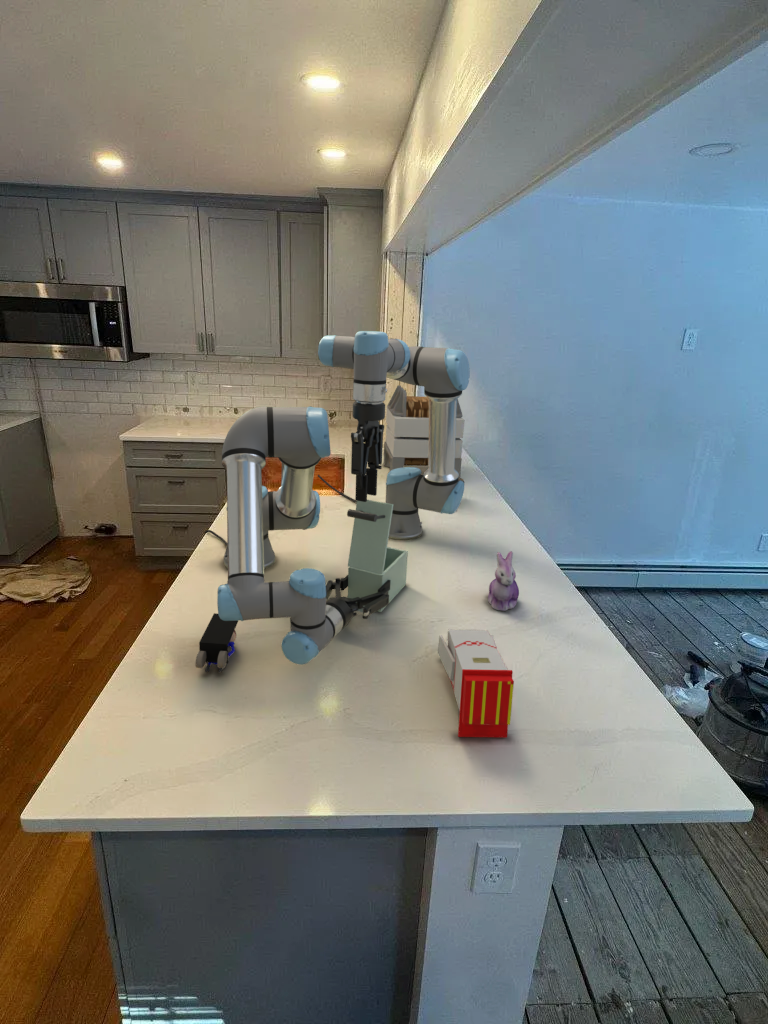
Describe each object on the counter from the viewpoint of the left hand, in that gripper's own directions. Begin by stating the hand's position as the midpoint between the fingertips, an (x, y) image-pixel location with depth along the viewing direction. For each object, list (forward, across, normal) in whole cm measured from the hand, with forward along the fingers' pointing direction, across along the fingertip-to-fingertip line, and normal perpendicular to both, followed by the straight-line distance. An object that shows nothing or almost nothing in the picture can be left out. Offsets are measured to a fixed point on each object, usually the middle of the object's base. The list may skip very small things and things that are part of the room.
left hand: (370, 580), depth 151 cm
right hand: (-5, 0, +25) cm, 25 cm away
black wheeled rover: (-39, -18, -6) cm, 44 cm away
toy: (-25, +35, -6) cm, 43 cm away
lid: (-1, 0, +13) cm, 13 cm away
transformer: (+127, -33, -6) cm, 131 cm away
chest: (+5, 0, -6) cm, 8 cm away
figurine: (+16, +32, -6) cm, 37 cm away
